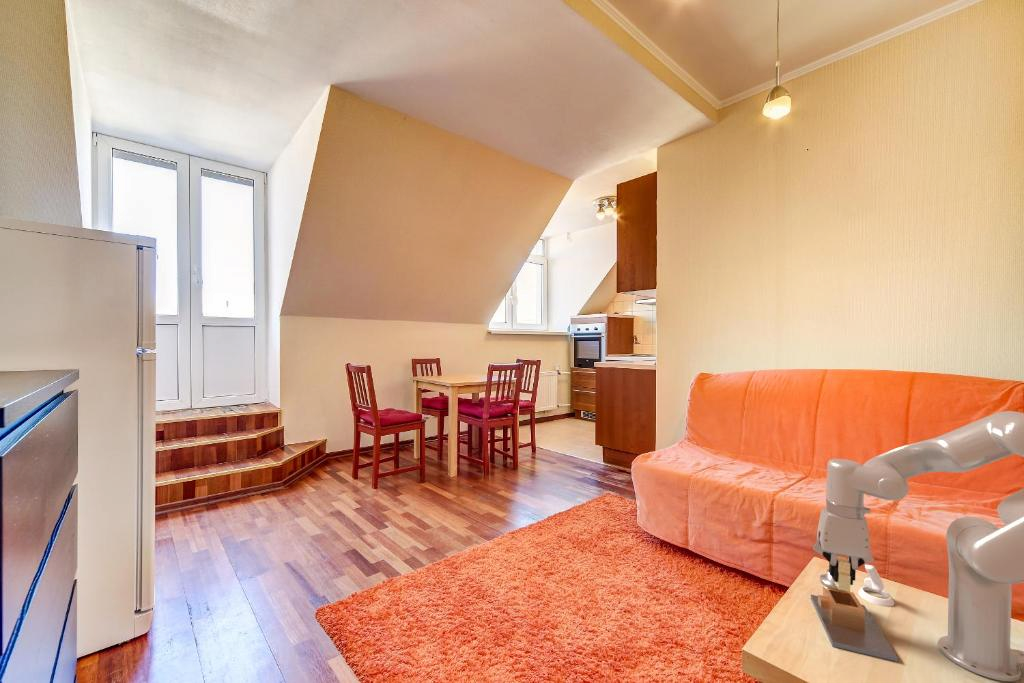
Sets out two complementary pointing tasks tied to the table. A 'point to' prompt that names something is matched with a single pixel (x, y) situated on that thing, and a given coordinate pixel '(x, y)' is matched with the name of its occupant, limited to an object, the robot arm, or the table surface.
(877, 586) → the hook
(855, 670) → the table surface
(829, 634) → the tray with wooden box
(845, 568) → the pale yellow block
